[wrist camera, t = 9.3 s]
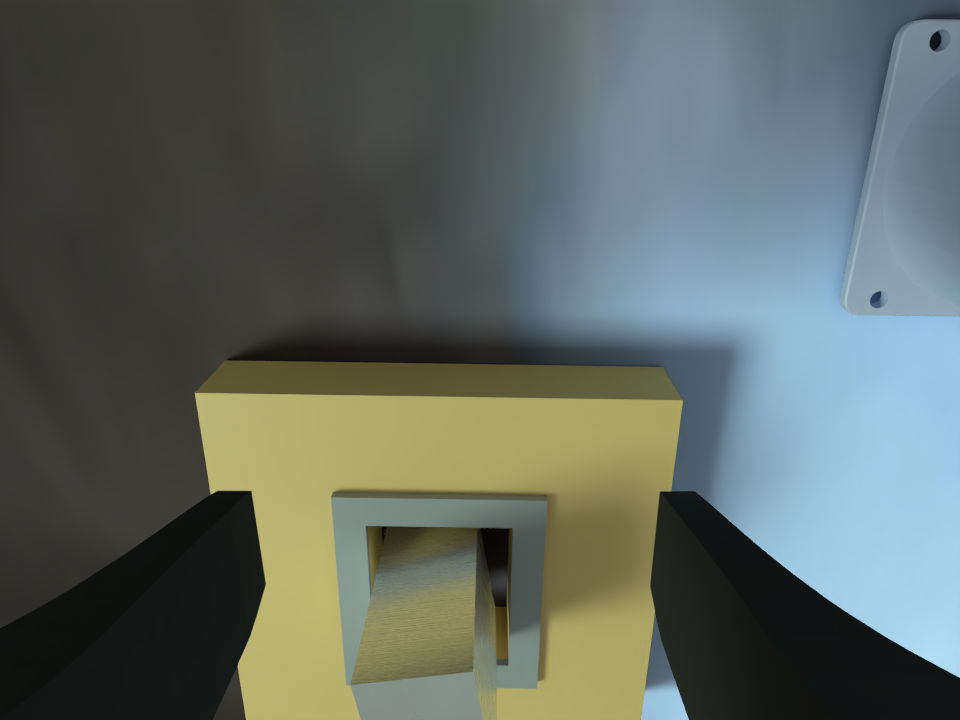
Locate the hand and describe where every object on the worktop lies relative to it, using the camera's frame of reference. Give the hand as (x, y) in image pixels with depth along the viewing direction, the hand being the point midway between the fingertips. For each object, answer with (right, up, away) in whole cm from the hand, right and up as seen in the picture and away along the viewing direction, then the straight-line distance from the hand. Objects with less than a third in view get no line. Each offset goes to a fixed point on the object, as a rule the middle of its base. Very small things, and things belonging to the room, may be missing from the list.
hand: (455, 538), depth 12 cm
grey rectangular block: (-1, -3, +13) cm, 13 cm away
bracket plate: (-1, -3, +13) cm, 13 cm away
